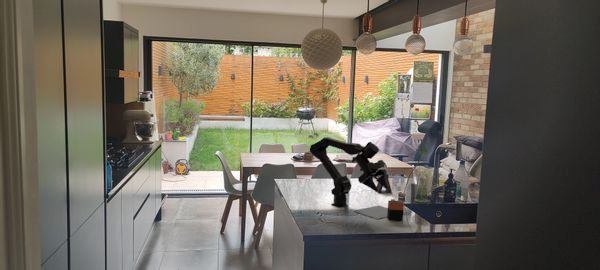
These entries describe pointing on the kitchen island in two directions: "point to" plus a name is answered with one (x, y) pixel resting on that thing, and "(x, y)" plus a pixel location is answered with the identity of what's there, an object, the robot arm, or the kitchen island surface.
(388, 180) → the brown a-shaped stand
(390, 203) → the battery
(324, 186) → the kitchen island surface
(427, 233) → the kitchen island surface
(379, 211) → the mat
